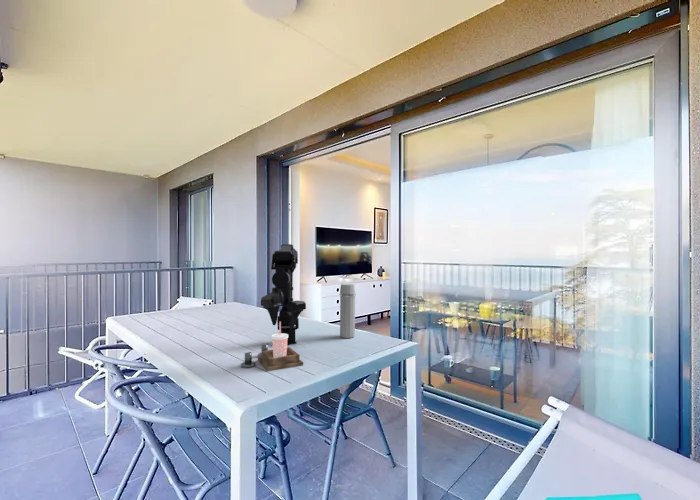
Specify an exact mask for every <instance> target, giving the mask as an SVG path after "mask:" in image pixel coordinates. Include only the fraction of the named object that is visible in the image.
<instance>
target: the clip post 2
mask: <svg viewBox="0 0 700 500" xmlns="http://www.w3.org/2000/svg"><path fill="white" fill-rule="evenodd" d="M260 345H261V351H265V350H269V345H268V343H262V344H260ZM261 351H260V352H259V353H257V358H258V357H261Z"/></svg>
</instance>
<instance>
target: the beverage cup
mask: <svg viewBox="0 0 700 500" xmlns="http://www.w3.org/2000/svg"><path fill="white" fill-rule="evenodd" d="M271 339H272V350H273V358H276V357H282V356H286V355H287V347H288V344H287V340H288V334H285V333H281V321H280V322H279V330H278V333H273V334H272V335H271Z"/></svg>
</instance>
